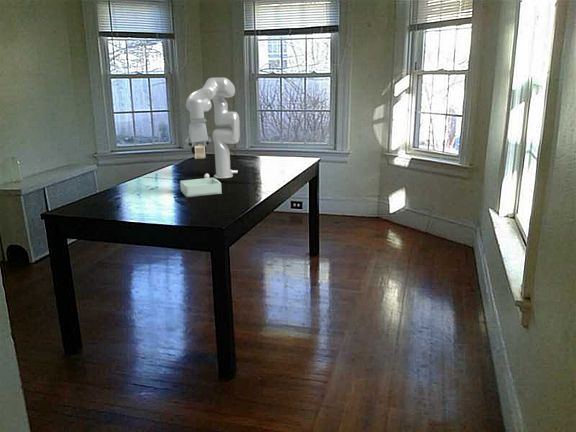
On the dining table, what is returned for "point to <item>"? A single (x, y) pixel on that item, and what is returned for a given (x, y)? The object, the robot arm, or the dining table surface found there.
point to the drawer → (199, 151)
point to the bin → (200, 187)
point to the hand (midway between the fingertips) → (199, 153)
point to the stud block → (208, 176)
